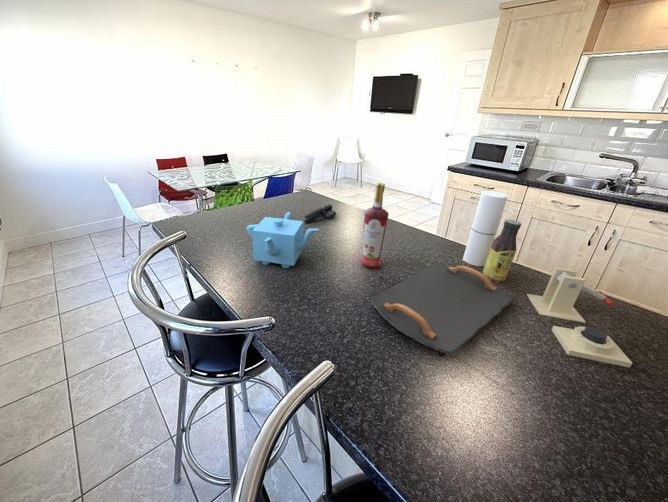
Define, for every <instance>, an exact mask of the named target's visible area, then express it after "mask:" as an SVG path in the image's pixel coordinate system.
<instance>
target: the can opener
mask: <svg viewBox="0 0 668 502" xmlns="http://www.w3.org/2000/svg"><path fill="white" fill-rule="evenodd" d="M336 215H337V212H336V211H335V210H333V205H332V204H326V205H321V206H320V207H319V208H316V209H314V210H312V211H310V212H308V213H307V214H304V216H303V217H304V220H303V223H305V224H308V223H311V222H313V221H316V220H317V219H319V218H321V217H323V218H325V219H327V220H329V219H330V220H331V219H332V218H334V217H335V216H336Z"/></svg>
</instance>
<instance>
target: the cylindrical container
mask: <svg viewBox="0 0 668 502" xmlns="http://www.w3.org/2000/svg"><path fill="white" fill-rule="evenodd" d="M508 197H509V195H508V194H506V193H504V192H500V191H496V190H482V191H481V193H480V196H479V200H478V203H477V207H476V210H475V213H474V218H473V221H472V225H471V229H470V232H469V235H468V239H467V242H466V246H465V250H464V252H463V253H464V254H463V257H462V261H464V262H465V263H467V264H469V265H471V266H475V267H484V266H485V263H486V260H487V258H488V255H489V252H490V249H491V247H492V245H493V242H494V240H495V238H496V235H497V233H498V229H499V226H500V224H501V223H500V222H501V219H502V216H503V213H504V211H505V207H506V204H507V201H508Z"/></svg>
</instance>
